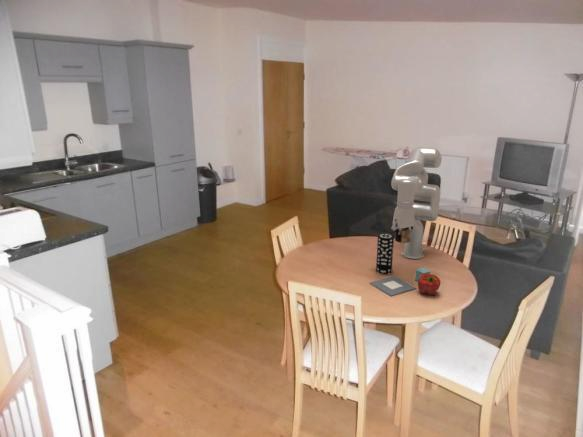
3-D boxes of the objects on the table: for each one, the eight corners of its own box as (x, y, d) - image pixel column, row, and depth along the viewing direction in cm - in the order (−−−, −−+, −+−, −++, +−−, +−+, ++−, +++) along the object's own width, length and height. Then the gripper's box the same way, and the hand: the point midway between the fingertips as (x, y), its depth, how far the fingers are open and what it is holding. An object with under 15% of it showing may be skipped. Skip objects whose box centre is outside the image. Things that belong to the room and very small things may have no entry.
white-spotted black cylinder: (382, 275, 222) (384, 239, 216) (372, 269, 229) (374, 235, 223) (395, 272, 226) (397, 237, 220) (385, 266, 233) (387, 232, 227)
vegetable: (444, 297, 199) (446, 277, 196) (424, 299, 197) (426, 280, 194) (432, 287, 209) (434, 268, 206) (413, 289, 207) (414, 270, 204)
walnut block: (402, 239, 211) (403, 227, 210) (409, 242, 207) (410, 230, 206) (395, 240, 209) (395, 229, 208) (402, 243, 205) (403, 231, 203)
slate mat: (394, 276, 221) (394, 275, 221) (416, 288, 207) (416, 287, 207) (369, 283, 214) (369, 282, 213) (391, 296, 200) (391, 295, 200)
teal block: (422, 278, 219) (423, 267, 217) (429, 281, 215) (430, 271, 213) (415, 280, 217) (416, 269, 215) (422, 284, 212) (423, 273, 211)
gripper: (412, 201, 210) (409, 236, 215) (386, 205, 202) (383, 241, 207) (423, 204, 204) (420, 240, 209) (397, 208, 196) (394, 245, 201)
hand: (402, 240), depth 208 cm, fingers closed on walnut block, 4 cm apart
